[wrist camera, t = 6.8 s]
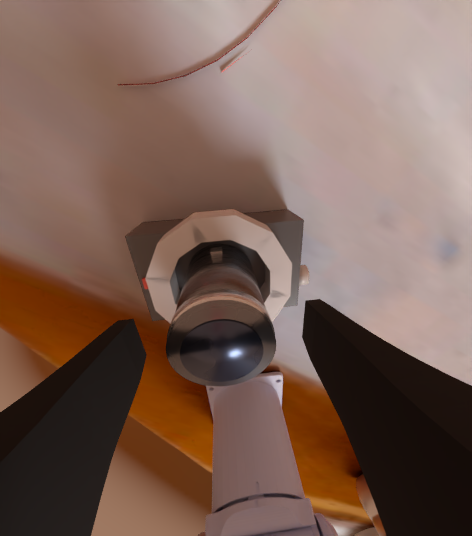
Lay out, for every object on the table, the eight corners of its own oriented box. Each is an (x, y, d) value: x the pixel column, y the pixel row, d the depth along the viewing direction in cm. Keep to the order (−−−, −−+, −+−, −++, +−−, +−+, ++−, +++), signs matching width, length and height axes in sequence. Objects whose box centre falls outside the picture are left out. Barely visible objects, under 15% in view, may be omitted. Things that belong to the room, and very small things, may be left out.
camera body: (294, 292, 18) (316, 329, 14) (165, 305, 17) (149, 348, 13) (300, 194, 14) (332, 206, 10) (138, 208, 14) (105, 226, 10)
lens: (254, 297, 14) (277, 384, 9) (192, 304, 14) (176, 396, 8) (251, 238, 12) (279, 300, 7) (180, 245, 12) (149, 314, 7)
